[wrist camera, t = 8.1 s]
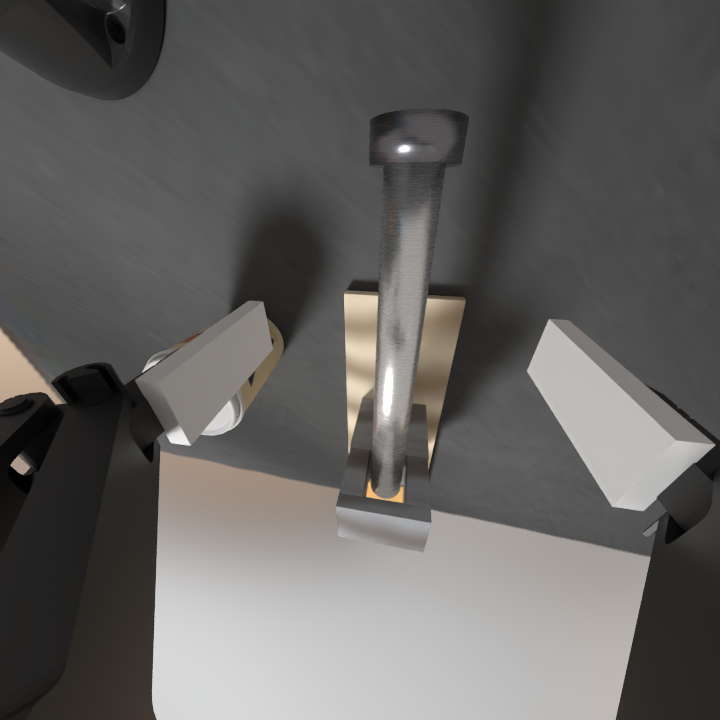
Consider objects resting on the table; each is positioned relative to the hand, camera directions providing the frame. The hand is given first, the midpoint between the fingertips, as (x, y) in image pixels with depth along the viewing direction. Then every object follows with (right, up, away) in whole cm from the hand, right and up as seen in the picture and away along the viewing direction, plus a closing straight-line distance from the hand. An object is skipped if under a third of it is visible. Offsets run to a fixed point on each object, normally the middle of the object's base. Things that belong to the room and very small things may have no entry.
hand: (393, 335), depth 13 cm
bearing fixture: (+3, -8, +23) cm, 25 cm away
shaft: (+1, -1, +8) cm, 9 cm away
